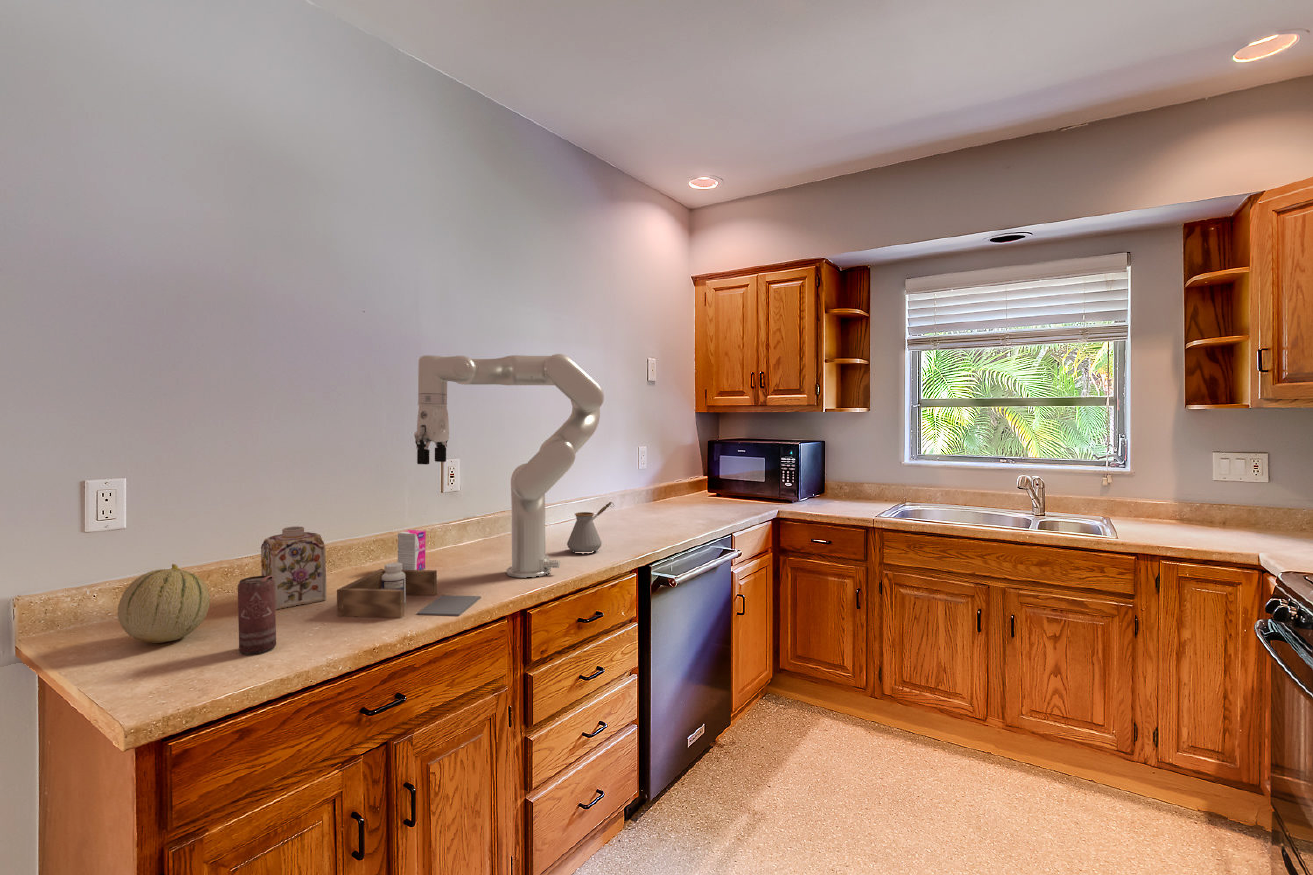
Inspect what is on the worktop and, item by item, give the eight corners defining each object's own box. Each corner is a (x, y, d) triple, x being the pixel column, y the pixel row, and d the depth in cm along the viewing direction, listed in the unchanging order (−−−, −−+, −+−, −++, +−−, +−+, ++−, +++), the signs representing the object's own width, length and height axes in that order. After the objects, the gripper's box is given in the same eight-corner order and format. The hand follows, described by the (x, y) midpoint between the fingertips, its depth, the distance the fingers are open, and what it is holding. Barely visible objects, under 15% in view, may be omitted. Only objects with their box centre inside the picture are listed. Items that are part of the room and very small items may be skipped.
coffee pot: (587, 557, 201) (587, 510, 201) (559, 552, 207) (559, 507, 207) (625, 545, 219) (625, 502, 219) (599, 541, 225) (599, 500, 225)
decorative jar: (313, 590, 163) (312, 521, 162) (328, 600, 155) (326, 527, 154) (260, 600, 155) (258, 527, 154) (272, 611, 146) (271, 534, 146)
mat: (481, 597, 157) (481, 596, 157) (459, 615, 143) (459, 614, 143) (442, 596, 158) (442, 595, 158) (416, 614, 144) (416, 612, 144)
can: (284, 645, 125) (283, 575, 124) (254, 657, 119) (253, 584, 118) (262, 641, 127) (260, 573, 126) (231, 653, 121) (229, 581, 120)
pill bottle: (386, 601, 154) (385, 561, 154) (408, 600, 154) (408, 561, 154) (378, 608, 149) (377, 567, 148) (401, 607, 149) (401, 566, 149)
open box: (436, 593, 160) (436, 570, 160) (400, 617, 142) (400, 591, 141) (380, 592, 162) (380, 569, 161) (337, 615, 143) (336, 589, 143)
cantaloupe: (105, 659, 118) (103, 579, 117) (134, 633, 131) (131, 562, 131) (200, 647, 124) (198, 572, 123) (218, 624, 137) (216, 556, 136)
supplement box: (415, 573, 181) (414, 533, 180) (396, 572, 182) (396, 532, 182) (426, 568, 187) (426, 530, 186) (408, 567, 188) (408, 529, 187)
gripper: (430, 400, 164) (429, 465, 164) (459, 402, 181) (458, 461, 181) (403, 399, 165) (402, 464, 165) (434, 401, 182) (434, 460, 182)
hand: (432, 462), depth 173 cm, fingers open, 9 cm apart
